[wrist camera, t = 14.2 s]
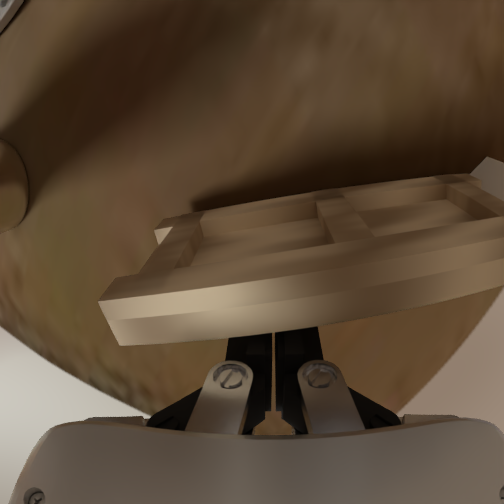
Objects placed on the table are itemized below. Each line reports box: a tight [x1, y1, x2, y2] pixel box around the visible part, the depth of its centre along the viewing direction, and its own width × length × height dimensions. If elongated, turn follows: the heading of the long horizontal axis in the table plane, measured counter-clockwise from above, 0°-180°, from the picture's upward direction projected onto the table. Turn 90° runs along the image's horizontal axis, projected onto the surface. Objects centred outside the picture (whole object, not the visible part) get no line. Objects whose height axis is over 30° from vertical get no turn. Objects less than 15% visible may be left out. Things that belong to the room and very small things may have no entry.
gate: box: [98, 173, 504, 346], centre depth 11 cm, size 15×2×7 cm, turn 101°
